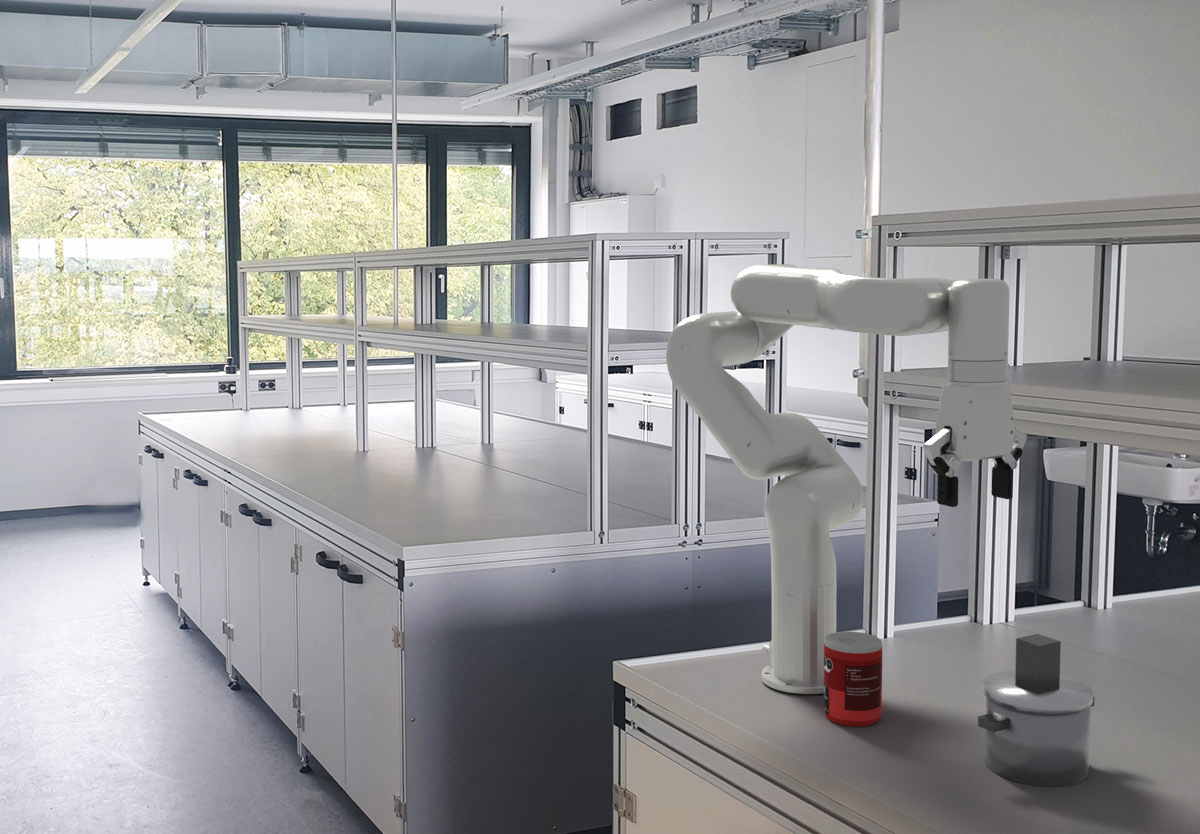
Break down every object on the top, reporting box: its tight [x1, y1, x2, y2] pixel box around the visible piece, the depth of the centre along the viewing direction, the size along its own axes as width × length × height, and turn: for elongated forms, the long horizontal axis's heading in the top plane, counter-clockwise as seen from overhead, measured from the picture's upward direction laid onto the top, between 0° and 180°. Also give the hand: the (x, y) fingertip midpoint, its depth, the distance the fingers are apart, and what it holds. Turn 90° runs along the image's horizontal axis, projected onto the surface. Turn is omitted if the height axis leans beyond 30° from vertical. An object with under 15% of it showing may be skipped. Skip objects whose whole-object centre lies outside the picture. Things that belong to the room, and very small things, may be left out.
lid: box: [982, 633, 1094, 714], centre depth 145 cm, size 13×13×7 cm
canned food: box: [823, 631, 883, 728], centre depth 163 cm, size 8×8×11 cm
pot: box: [977, 695, 1095, 788], centre depth 146 cm, size 12×17×9 cm
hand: (975, 501), depth 158 cm, fingers open, 9 cm apart
